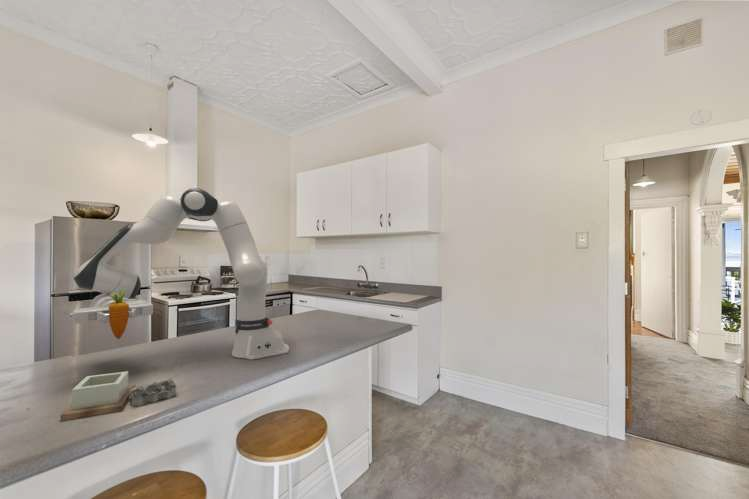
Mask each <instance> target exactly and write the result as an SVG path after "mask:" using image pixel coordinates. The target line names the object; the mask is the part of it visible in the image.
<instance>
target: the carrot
mask: <svg viewBox="0 0 749 499" xmlns="http://www.w3.org/2000/svg"><path fill="white" fill-rule="evenodd" d="M119 295H120V297H118V296H117V294H116V293H114V296H113V295H111V294H110V295H109V296H110V297H112V298H113V299H114V300H115V302H116V303H112V304H110V305H109V314H110V320H109V322H110V324H109V326H110V330H111V331H112V334H113V336H114V337H115V338H116V339H117V340H119V339H120V338H122V336H123V335H124V333H125V331H126V329H127V326H128V321H129V319H128V314H129V305H128V304H127V303H125V302H122V299H123V296H124V293H123V291H122V290H121V291H119Z"/></svg>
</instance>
